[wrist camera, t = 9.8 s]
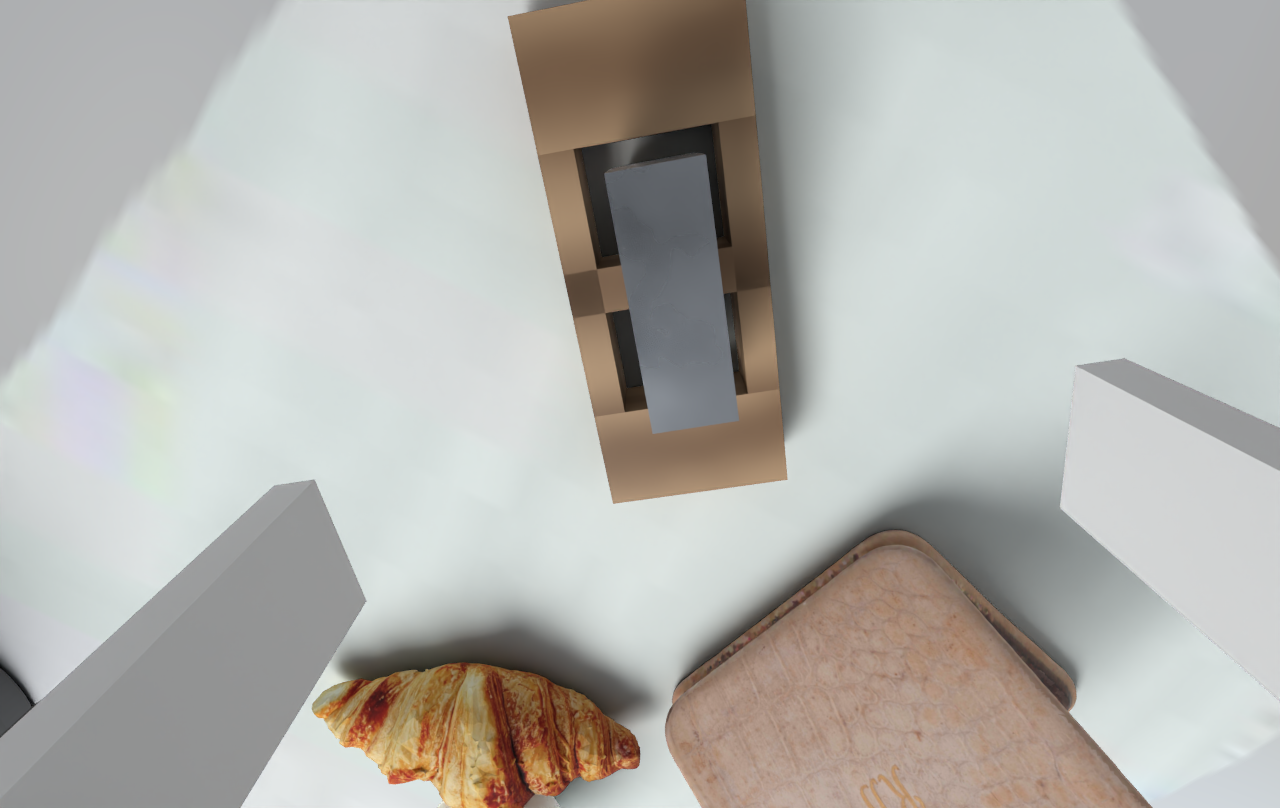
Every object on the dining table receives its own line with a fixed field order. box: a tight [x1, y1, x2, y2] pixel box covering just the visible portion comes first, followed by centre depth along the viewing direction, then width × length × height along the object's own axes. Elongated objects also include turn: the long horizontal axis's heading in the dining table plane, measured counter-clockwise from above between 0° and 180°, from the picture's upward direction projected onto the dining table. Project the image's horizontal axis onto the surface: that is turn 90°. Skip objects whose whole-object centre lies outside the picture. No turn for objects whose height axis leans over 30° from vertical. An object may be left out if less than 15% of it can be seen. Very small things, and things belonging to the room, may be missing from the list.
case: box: [665, 530, 1152, 808], centre depth 34 cm, size 20×21×16 cm
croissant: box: [312, 663, 640, 808], centre depth 39 cm, size 21×10×8 cm, turn 81°
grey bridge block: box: [604, 152, 739, 434], centre depth 26 cm, size 10×4×8 cm, turn 10°
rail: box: [508, 0, 787, 504], centre depth 29 cm, size 22×9×3 cm, turn 10°
